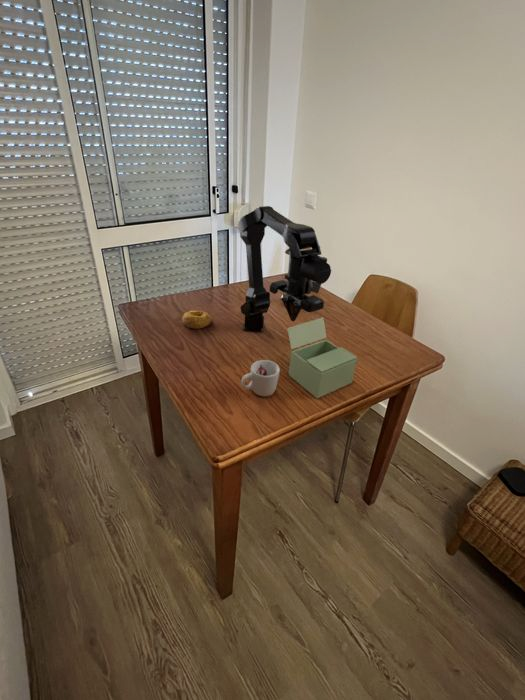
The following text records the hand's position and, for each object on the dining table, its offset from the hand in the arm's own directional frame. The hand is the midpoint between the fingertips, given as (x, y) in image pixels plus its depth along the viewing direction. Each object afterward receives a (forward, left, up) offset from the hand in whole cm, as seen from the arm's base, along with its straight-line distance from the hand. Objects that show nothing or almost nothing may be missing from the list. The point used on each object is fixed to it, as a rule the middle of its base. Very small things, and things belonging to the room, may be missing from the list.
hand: (293, 320), depth 109 cm
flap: (+5, -5, -1) cm, 7 cm away
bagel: (-36, +14, -13) cm, 41 cm away
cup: (-7, -21, -13) cm, 26 cm away
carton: (+10, -11, -13) cm, 20 cm away
